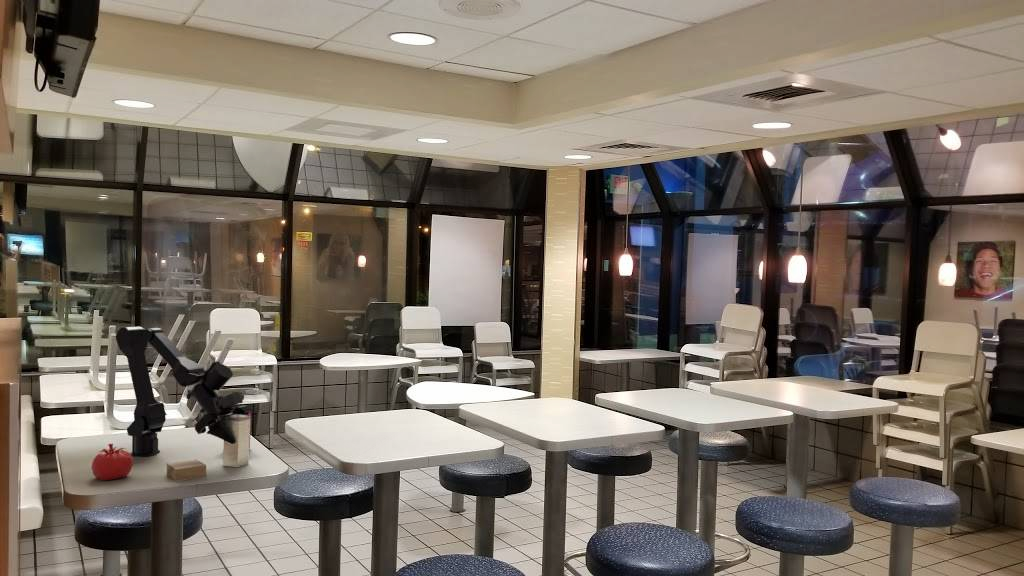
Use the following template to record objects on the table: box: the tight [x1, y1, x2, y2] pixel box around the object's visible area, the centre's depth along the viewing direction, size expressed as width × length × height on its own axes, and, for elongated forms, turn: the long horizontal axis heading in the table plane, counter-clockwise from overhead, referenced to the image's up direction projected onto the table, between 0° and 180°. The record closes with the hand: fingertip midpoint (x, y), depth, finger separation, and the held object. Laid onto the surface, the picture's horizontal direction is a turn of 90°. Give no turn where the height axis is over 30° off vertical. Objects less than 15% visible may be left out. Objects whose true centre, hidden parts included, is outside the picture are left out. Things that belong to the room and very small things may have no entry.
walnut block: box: [166, 459, 207, 482], centre depth 214 cm, size 8×8×4 cm
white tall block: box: [222, 414, 252, 468], centre depth 226 cm, size 5×5×14 cm
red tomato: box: [91, 443, 134, 481], centre depth 210 cm, size 10×10×9 cm
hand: (240, 441), depth 226 cm, fingers closed on white tall block, 5 cm apart
